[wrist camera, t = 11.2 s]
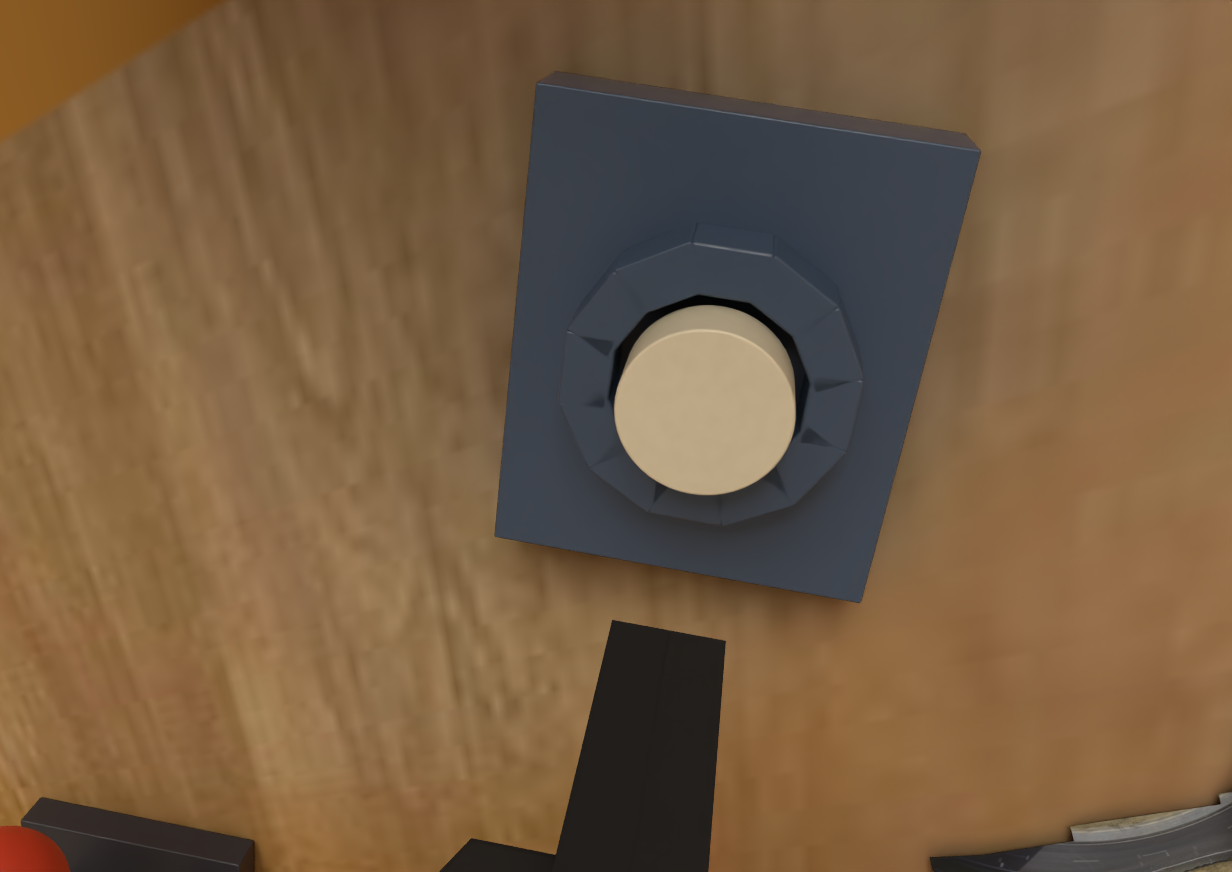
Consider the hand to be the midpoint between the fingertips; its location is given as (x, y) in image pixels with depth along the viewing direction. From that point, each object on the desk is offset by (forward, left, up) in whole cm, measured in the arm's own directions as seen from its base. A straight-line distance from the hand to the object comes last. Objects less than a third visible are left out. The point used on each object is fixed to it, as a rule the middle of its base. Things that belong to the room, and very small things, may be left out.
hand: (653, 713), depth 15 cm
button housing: (0, 0, -16) cm, 16 cm away
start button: (0, 0, -12) cm, 12 cm away
